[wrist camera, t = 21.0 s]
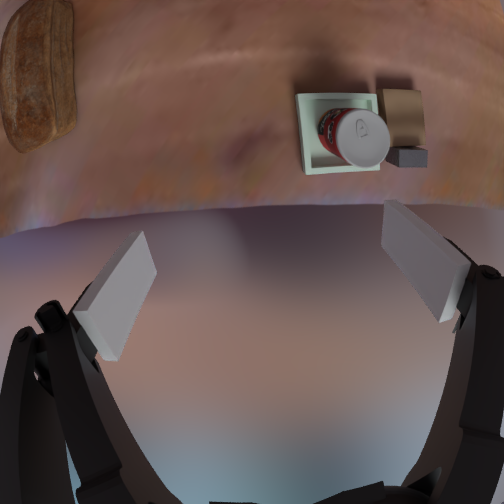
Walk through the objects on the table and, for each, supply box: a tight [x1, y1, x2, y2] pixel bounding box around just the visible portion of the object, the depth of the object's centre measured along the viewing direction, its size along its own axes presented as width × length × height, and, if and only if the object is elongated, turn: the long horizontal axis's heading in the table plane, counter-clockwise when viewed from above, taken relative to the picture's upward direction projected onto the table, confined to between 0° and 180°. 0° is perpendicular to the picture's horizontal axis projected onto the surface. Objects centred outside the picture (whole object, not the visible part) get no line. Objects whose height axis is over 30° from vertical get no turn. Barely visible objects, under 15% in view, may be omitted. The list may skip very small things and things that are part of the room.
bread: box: [0, 0, 77, 153], centre depth 25 cm, size 12×31×14 cm, turn 4°
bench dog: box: [386, 146, 428, 167], centre depth 39 cm, size 3×6×5 cm, turn 98°
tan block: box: [376, 89, 426, 147], centre depth 37 cm, size 10×8×3 cm
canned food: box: [317, 108, 390, 168], centre depth 35 cm, size 8×8×11 cm
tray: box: [295, 93, 380, 175], centre depth 39 cm, size 13×13×2 cm
